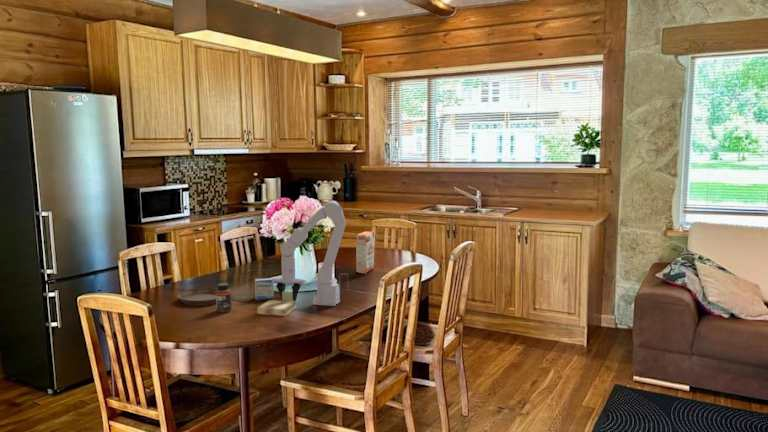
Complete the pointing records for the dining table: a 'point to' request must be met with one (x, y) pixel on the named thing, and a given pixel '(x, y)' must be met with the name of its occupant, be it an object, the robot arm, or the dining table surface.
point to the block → (287, 295)
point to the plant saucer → (198, 296)
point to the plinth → (276, 307)
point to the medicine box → (264, 289)
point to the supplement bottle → (223, 298)
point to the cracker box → (364, 252)
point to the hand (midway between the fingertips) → (289, 300)
